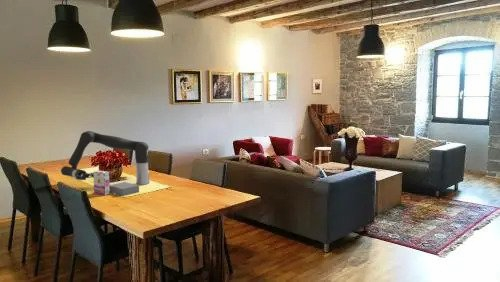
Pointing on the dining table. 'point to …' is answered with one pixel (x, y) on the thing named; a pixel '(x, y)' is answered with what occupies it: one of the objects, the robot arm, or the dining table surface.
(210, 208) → the dining table surface
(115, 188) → the charcoal plinth
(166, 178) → the dining table surface
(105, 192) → the candy bar box
